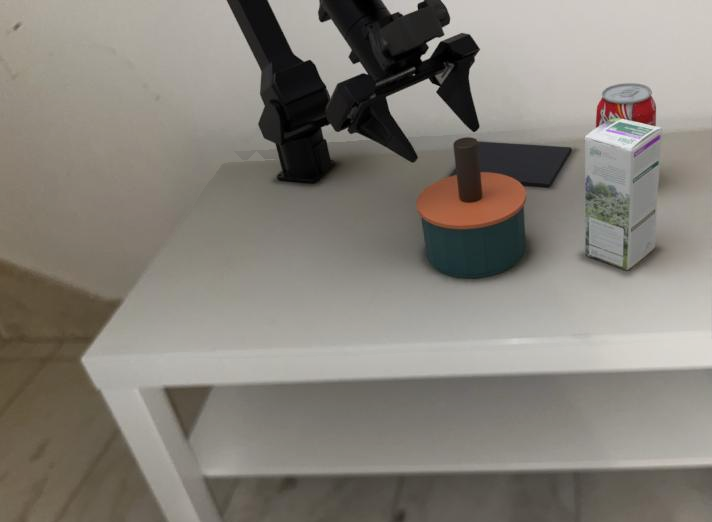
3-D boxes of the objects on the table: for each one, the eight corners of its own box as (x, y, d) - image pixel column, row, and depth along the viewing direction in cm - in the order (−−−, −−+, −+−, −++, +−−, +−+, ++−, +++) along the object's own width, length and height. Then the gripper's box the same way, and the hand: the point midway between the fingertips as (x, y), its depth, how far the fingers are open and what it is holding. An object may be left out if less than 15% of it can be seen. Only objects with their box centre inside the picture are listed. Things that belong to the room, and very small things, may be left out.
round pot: (412, 271, 88) (404, 221, 84) (449, 221, 96) (443, 173, 92) (506, 284, 83) (503, 232, 79) (537, 231, 91) (535, 181, 87)
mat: (449, 178, 105) (449, 175, 104) (477, 144, 112) (477, 141, 112) (549, 187, 99) (549, 183, 99) (571, 150, 107) (571, 147, 107)
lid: (400, 227, 84) (389, 163, 79) (442, 176, 92) (434, 116, 88) (505, 239, 79) (501, 172, 75) (540, 184, 88) (537, 121, 83)
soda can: (584, 188, 98) (584, 97, 91) (614, 166, 102) (617, 77, 94) (632, 202, 94) (636, 107, 87) (662, 179, 98) (669, 86, 90)
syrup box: (656, 248, 85) (665, 124, 76) (626, 273, 82) (631, 147, 73) (613, 233, 89) (616, 113, 80) (582, 257, 86) (582, 134, 77)
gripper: (317, 1, 73) (408, 138, 72) (459, -47, 81) (541, 74, 81) (291, 70, 82) (372, 190, 82) (421, 20, 91) (494, 129, 91)
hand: (447, 144), depth 84 cm, fingers open, 9 cm apart
